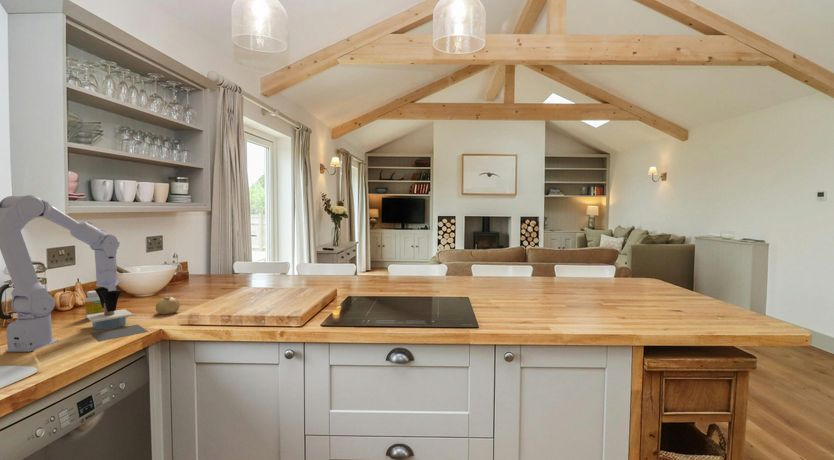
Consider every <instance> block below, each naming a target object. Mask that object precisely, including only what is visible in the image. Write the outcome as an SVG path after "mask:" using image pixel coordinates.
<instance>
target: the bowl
mask: <svg viewBox="0 0 834 460" xmlns="http://www.w3.org/2000/svg"><path fill="white" fill-rule="evenodd" d="M91 323H92V329H93V330H110V329H115V328H121V327H122V326H125V325H126V324H127V317H122V318H116V319H111V320H105V321H99V322H92V321H91Z"/></svg>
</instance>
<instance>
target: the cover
mask: <svg viewBox="0 0 834 460" xmlns="http://www.w3.org/2000/svg"><path fill="white" fill-rule="evenodd" d="M132 316H134V313H132V312H130V311H129V310H127V309H126V308H124V309H116V310H115V311H111V312H108V311H107V309H106V305H105V303H104V312H103V313H97V314H91V315H86V314H85V318H86V317H87V318H88V319H87V318H86V319H87V320H89V321H90V322H91V323H92V322H99V321H105V320H111V319H116V318H122V317H126V318H127V317H132Z"/></svg>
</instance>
